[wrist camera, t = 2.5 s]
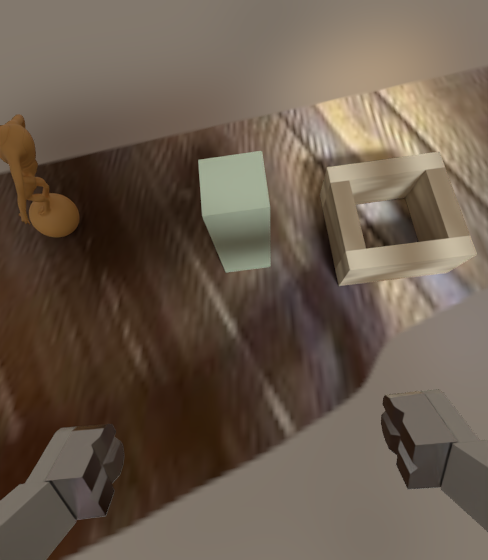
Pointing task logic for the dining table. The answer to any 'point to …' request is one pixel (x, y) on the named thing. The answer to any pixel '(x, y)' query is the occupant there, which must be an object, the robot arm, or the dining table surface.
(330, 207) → the beige square socket frame
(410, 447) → the robot arm
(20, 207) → the figurine
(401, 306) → the dining table surface
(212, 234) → the sage-green peg
